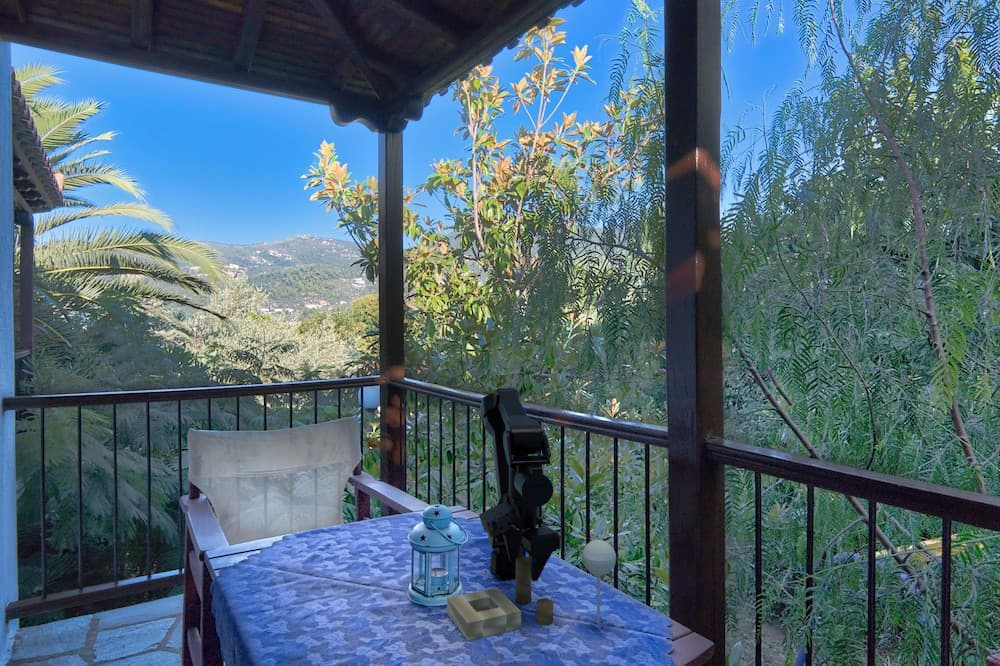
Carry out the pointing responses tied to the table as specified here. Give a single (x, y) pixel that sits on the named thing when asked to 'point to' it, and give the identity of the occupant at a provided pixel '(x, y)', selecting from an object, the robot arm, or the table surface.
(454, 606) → the bored block
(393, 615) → the table surface
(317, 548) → the table surface
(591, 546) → the lollipop
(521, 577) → the long pin
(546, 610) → the short pin
